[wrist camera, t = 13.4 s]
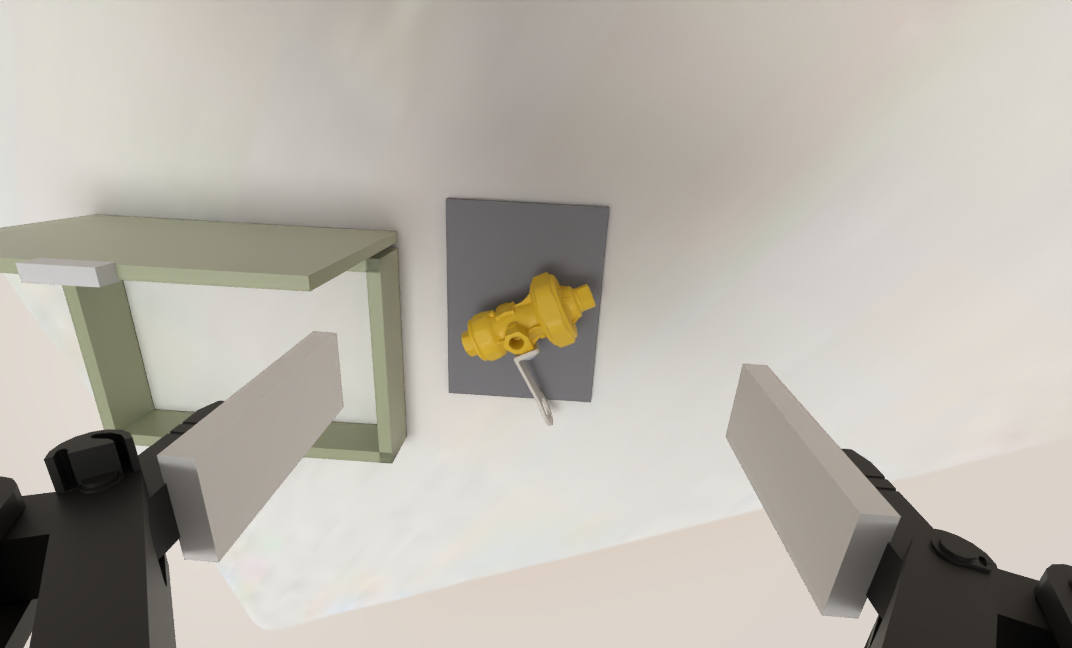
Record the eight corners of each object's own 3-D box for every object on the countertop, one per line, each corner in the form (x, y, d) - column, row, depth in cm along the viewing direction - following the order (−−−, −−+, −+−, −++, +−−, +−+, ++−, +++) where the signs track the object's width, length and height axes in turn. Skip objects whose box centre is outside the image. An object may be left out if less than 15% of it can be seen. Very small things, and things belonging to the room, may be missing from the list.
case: (93, 213, 39) (-180, 251, 24) (396, 230, 38) (296, 279, 24) (146, 418, 45) (-48, 543, 31) (406, 436, 44) (332, 573, 30)
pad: (447, 198, 37) (445, 198, 36) (608, 206, 36) (609, 207, 36) (450, 389, 42) (448, 392, 42) (590, 398, 42) (590, 402, 41)
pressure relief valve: (455, 301, 38) (575, 250, 37) (519, 411, 44) (626, 372, 42) (445, 336, 33) (583, 280, 32) (519, 456, 39) (640, 413, 37)
